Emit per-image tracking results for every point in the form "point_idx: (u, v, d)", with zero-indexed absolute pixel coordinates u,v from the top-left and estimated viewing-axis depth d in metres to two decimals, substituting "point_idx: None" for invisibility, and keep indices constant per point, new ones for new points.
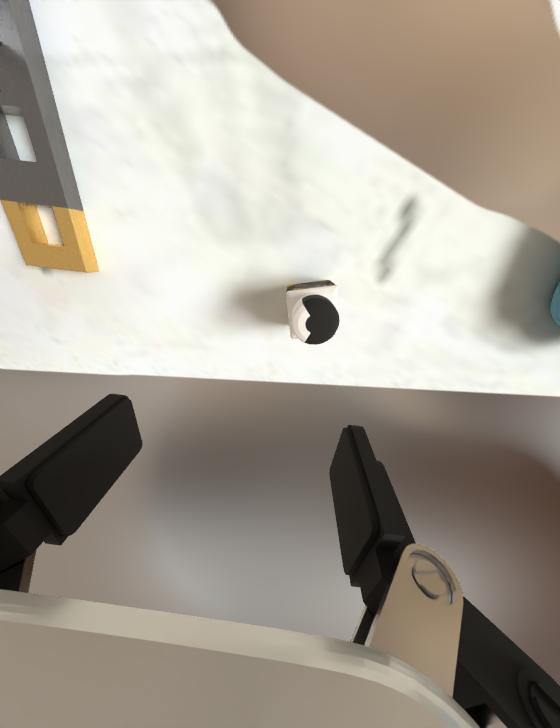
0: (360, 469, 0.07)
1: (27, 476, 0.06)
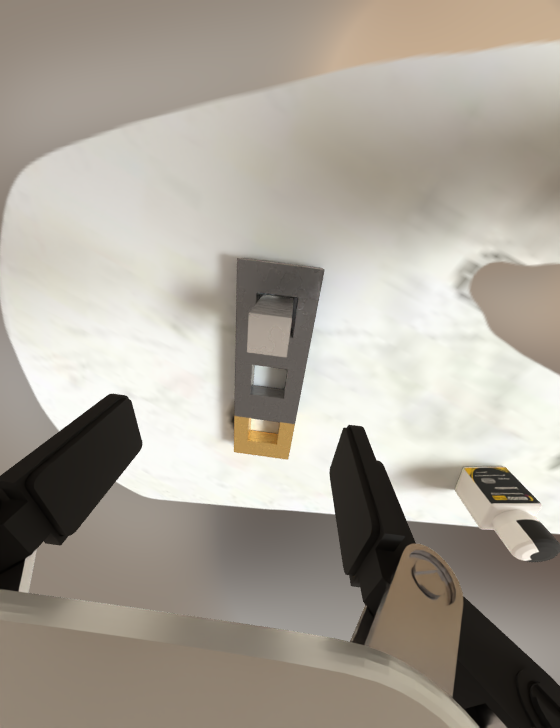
0: (360, 469, 0.07)
1: (27, 476, 0.06)
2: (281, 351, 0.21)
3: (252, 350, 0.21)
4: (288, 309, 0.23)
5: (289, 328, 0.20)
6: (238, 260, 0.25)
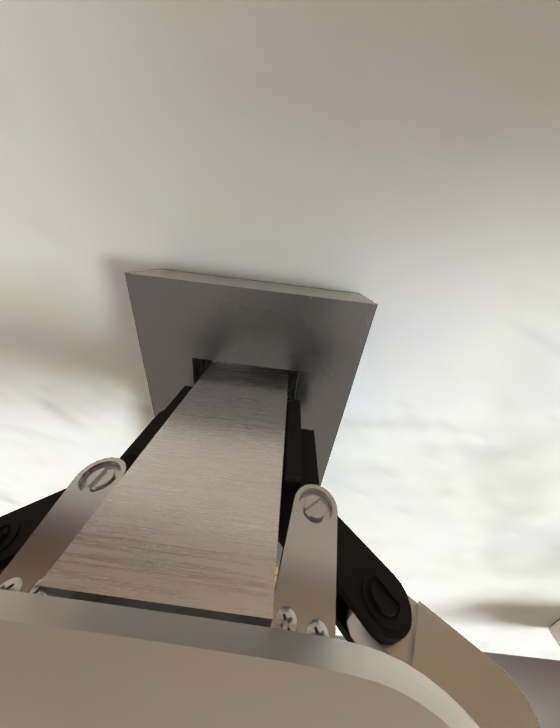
0: (285, 431, 0.08)
1: None
2: None
3: None
4: (268, 453, 0.06)
5: None
6: (129, 278, 0.09)
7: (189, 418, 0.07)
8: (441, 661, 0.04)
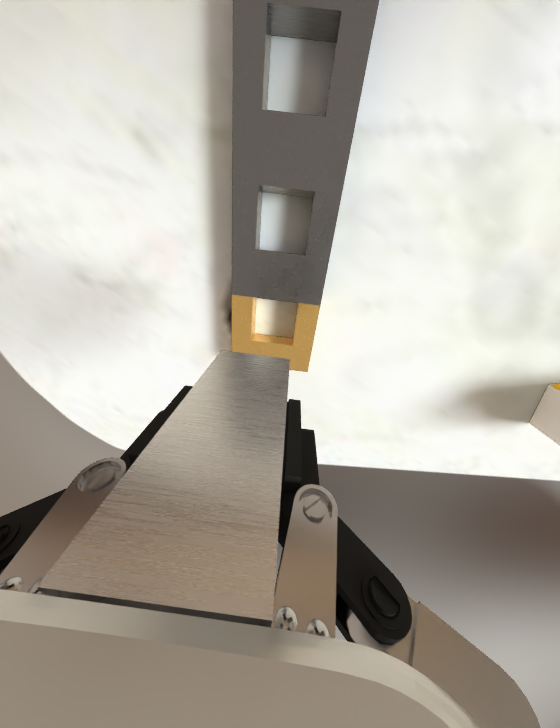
0: (285, 431, 0.08)
1: None
2: None
3: None
4: (268, 454, 0.06)
5: None
6: None
7: (189, 418, 0.07)
8: (441, 660, 0.04)
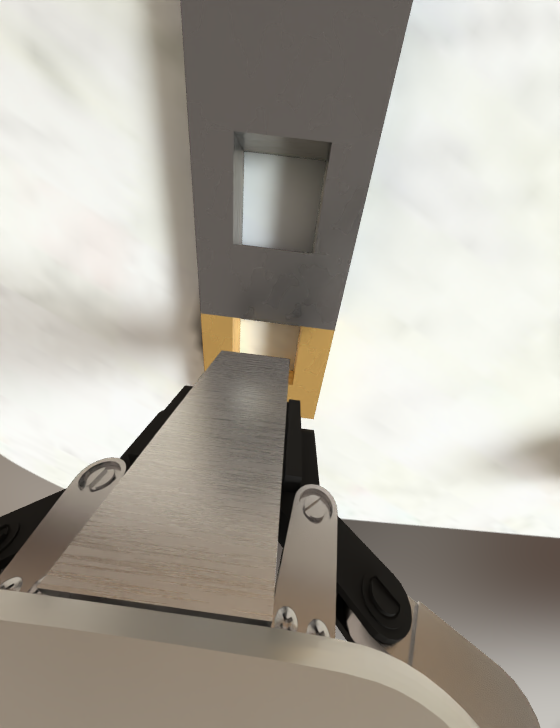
0: (285, 432, 0.08)
1: None
2: None
3: None
4: (268, 454, 0.06)
5: None
6: None
7: (189, 419, 0.07)
8: (442, 661, 0.04)
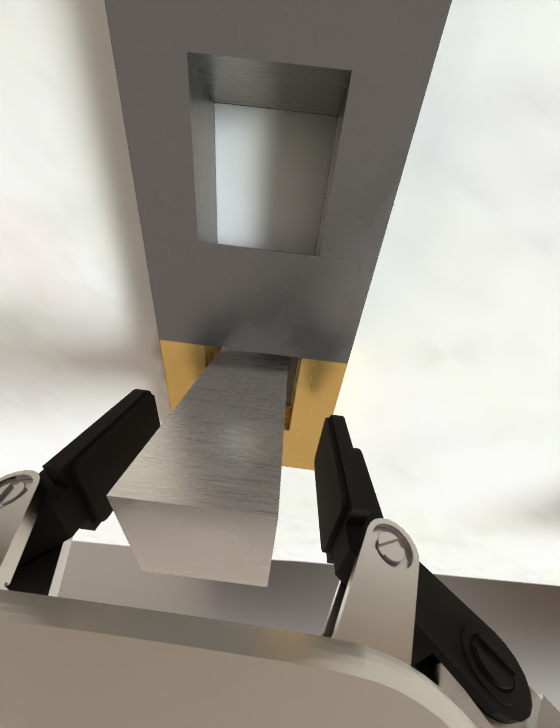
0: (336, 454, 0.07)
1: (70, 463, 0.06)
2: (249, 576, 0.07)
3: (158, 570, 0.07)
4: (272, 417, 0.08)
5: (270, 537, 0.05)
6: None
7: (204, 392, 0.09)
8: None
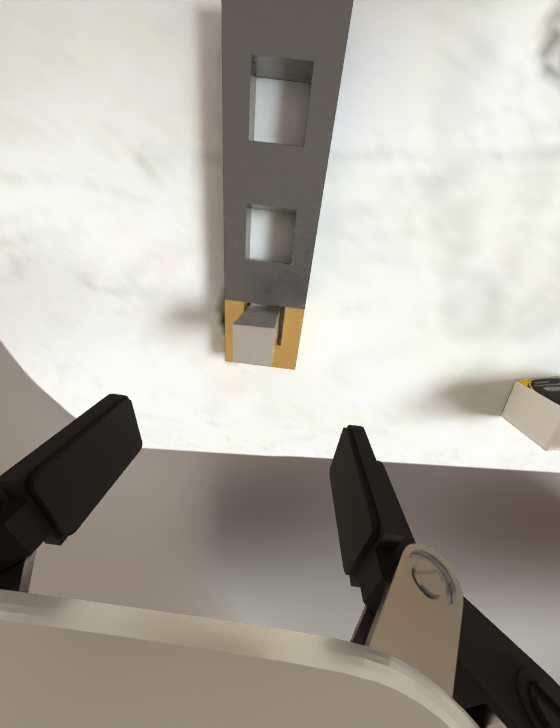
0: (360, 469, 0.07)
1: (27, 476, 0.06)
2: (266, 360, 0.22)
3: (238, 360, 0.22)
4: (272, 319, 0.23)
5: (272, 338, 0.21)
6: None
7: (248, 314, 0.24)
8: None
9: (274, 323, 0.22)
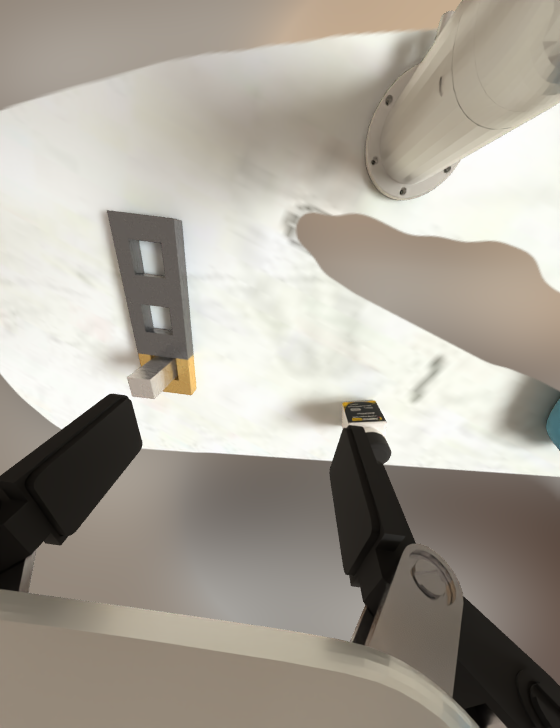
0: (360, 469, 0.07)
1: (27, 476, 0.06)
2: (150, 395, 0.38)
3: (135, 395, 0.38)
4: (158, 370, 0.39)
5: (150, 384, 0.36)
6: (108, 212, 0.32)
7: (146, 365, 0.40)
8: None
9: (155, 374, 0.38)
